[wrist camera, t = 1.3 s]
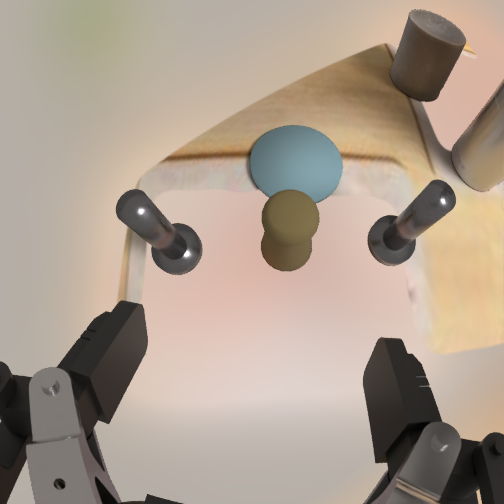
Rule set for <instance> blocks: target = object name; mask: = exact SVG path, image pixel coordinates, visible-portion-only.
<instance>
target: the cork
mask: <svg viewBox="0 0 504 504" xmlns="http://www.w3.org/2000/svg"><path fill="white" fill-rule="evenodd" d="M262 224H263V227H264V231H265V232H264V236H263V238H262V241H261V251H262V255H263V257H264V259H265V260H266V262H267V263H268V264H269V265H270V266H272V267H273V268H275V269H277V270H280V271H293V270H296V269H299V268H300V267H302V266H303V265H304V264H305V263H306V262H307V261H308V259H309V258H310V254H311V252H312V240H311V238H312V237H313V235H314V234H315V233H316V231H317V228H318V225H319V211H318V209H317V206H316V203H315V202H314V201H313V200H312V198H311V197H310V196H308V195H307V194H305V193H304V192H301V191H298V190H291V189H286V190H282V191H279V192H277V193H275V194H274V195H272V196H271V197H270V198H269V199H268V201H267V202H266V203H265V205H264V208H263V211H262Z"/></svg>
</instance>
